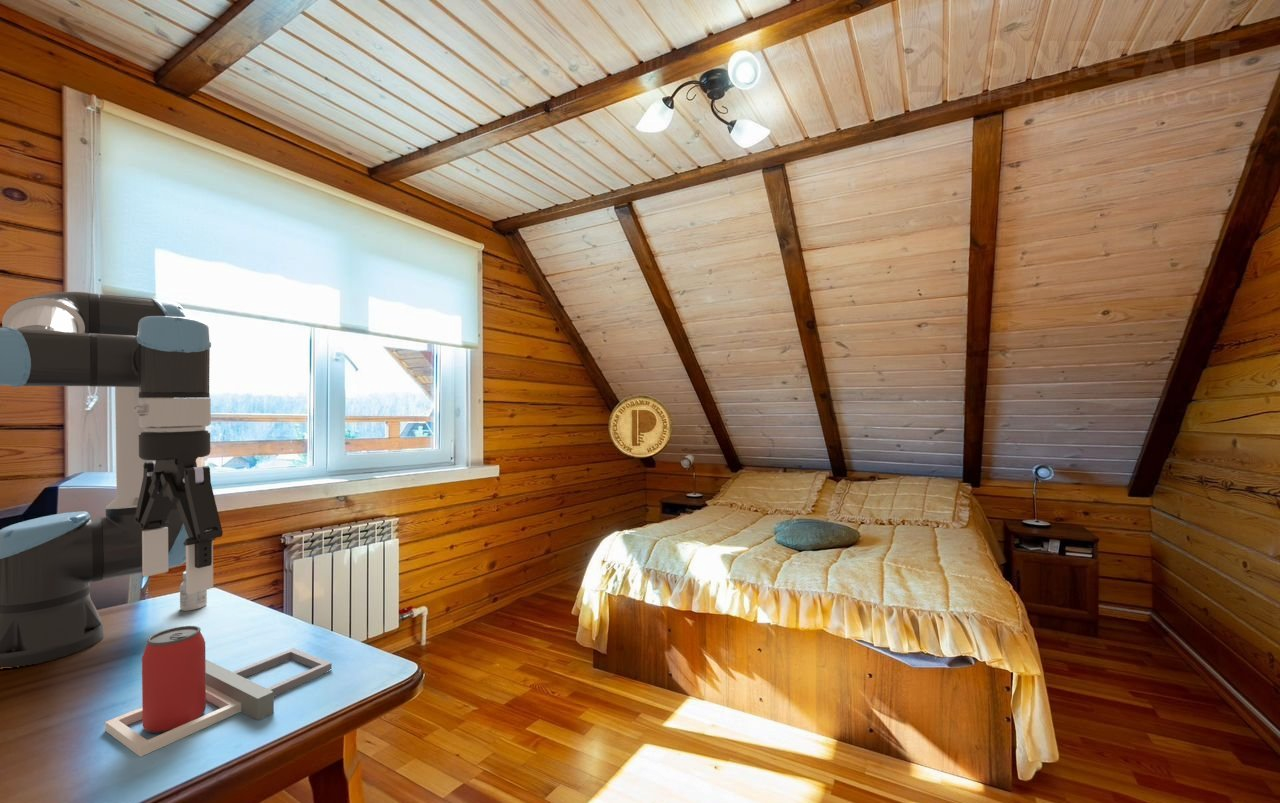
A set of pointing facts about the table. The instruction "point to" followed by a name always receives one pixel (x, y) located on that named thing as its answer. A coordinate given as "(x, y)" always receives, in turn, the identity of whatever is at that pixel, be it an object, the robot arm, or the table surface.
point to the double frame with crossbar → (222, 700)
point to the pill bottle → (191, 597)
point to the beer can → (173, 679)
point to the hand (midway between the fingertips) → (176, 582)
